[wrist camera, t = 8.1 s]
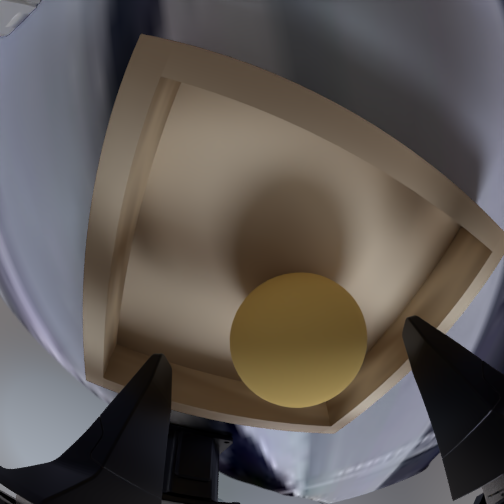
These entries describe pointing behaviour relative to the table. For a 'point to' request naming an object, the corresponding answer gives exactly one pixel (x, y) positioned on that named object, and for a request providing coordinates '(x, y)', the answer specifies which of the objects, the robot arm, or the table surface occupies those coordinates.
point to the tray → (261, 231)
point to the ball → (298, 340)
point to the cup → (14, 14)
